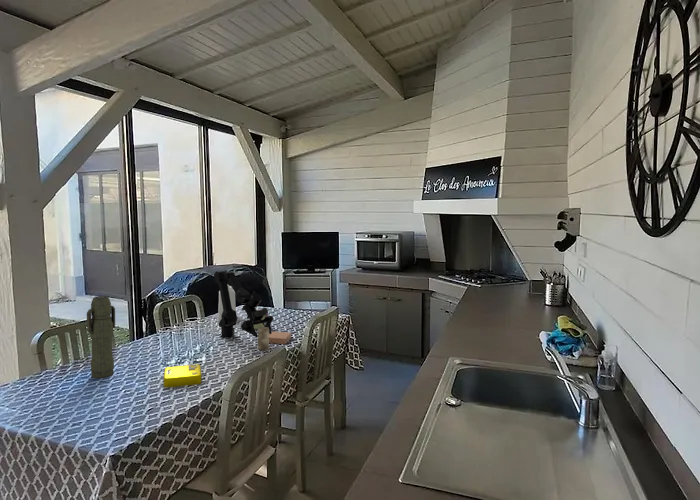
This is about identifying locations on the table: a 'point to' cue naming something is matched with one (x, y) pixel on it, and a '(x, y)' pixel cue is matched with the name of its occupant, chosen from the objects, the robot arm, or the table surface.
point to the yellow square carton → (182, 375)
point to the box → (261, 323)
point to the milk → (232, 299)
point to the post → (263, 338)
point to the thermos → (101, 336)
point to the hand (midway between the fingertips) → (264, 335)
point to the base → (279, 337)
